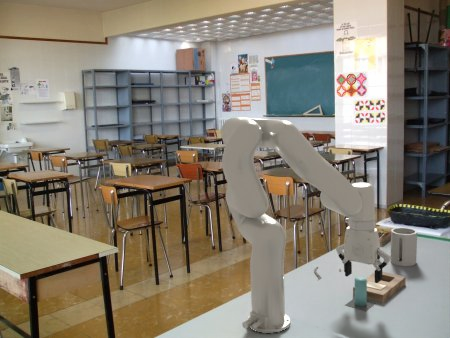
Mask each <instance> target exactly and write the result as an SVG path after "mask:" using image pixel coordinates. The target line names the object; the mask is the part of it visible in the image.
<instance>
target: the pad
mask: <svg viewBox="0 0 450 338" xmlns="http://www.w3.org/2000/svg"><path fill="white" fill-rule="evenodd" d="M376 304H377V302H376V301H375V302H374V301H371V300H367V305H366V306H364V307H359V306H356V305H355V297H354V298H352V299H351V300H349V302H347V303H346V304H344V306H346V307H349V308H353V309H356V310H360V311H364V312H368V311H369V309H371V308H372V307H374V305H376Z"/></svg>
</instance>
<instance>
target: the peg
mask: <svg viewBox="0 0 450 338" xmlns="http://www.w3.org/2000/svg"><path fill="white" fill-rule="evenodd" d="M366 278H367V277H363V276H360V277H359V276H358V277H355V278H354V287H355V295H354V298H355V305H356V306H359V307H364V306H366V305H367V301H368V300H367V279H366Z"/></svg>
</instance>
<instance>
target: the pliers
mask: <svg viewBox="0 0 450 338" xmlns="http://www.w3.org/2000/svg"><path fill="white" fill-rule="evenodd" d="M318 268H319V266H316V267H315V268H314V270H313V272H314V274H315V276H316V277H317V278H318V279H317V281H320V280H321V279H322V276H321V275H320V274H319V273H317V270H318ZM338 272H339V273H341V272H342V269H341V268H339V270H338Z"/></svg>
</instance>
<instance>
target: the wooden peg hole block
mask: <svg viewBox="0 0 450 338" xmlns="http://www.w3.org/2000/svg"><path fill="white" fill-rule="evenodd" d="M365 278H366V279H367V299H368V300H370V301H371V300H372V301H375V302H379V303H385V302H386V301H387V300H388V299H389V298H391V297H392V296H393V295H394V294H395V293H396V292H398V291H399V290H400V289H401V288H405V286H406V282H407V280H406V276H403V275H399V274H395V273H389V272H387V271H382V280H381V281H379V282H378V283H375V271H374V272H373V273H372V274H370V275H368V276H367V277H365ZM352 295H353V296H355V286H353V288H352Z"/></svg>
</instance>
